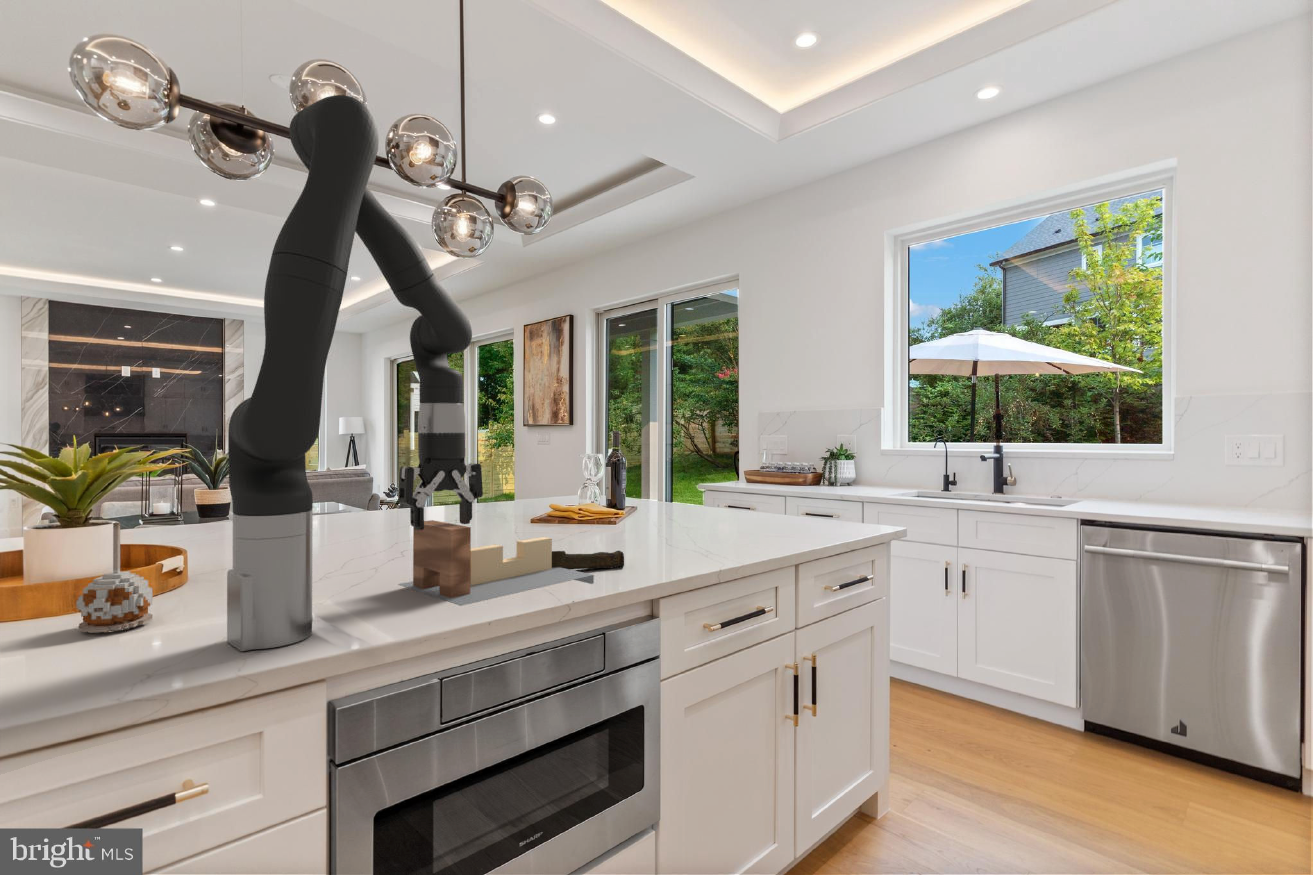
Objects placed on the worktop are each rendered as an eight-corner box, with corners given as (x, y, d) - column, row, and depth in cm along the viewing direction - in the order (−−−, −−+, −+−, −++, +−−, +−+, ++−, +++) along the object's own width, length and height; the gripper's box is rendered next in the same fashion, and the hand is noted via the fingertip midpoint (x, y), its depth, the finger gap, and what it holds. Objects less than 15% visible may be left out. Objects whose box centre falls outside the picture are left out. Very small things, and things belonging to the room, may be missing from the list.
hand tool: (618, 569, 133) (617, 547, 134) (625, 569, 130) (625, 547, 130) (531, 574, 125) (531, 550, 126) (536, 575, 121) (536, 551, 122)
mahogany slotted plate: (450, 597, 100) (450, 529, 100) (413, 585, 108) (413, 522, 108) (470, 593, 103) (470, 527, 103) (432, 581, 111) (432, 520, 110)
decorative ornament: (64, 638, 84) (65, 527, 84) (102, 621, 92) (103, 519, 92) (131, 634, 86) (131, 525, 86) (163, 618, 93) (163, 518, 93)
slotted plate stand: (461, 614, 96) (461, 566, 96) (398, 592, 109) (398, 549, 109) (593, 582, 117) (593, 542, 117) (527, 567, 130) (527, 531, 130)
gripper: (412, 431, 97) (413, 534, 97) (490, 430, 108) (491, 523, 108) (390, 430, 102) (390, 529, 102) (466, 430, 113) (467, 519, 113)
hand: (442, 526), depth 105 cm, fingers open, 8 cm apart
